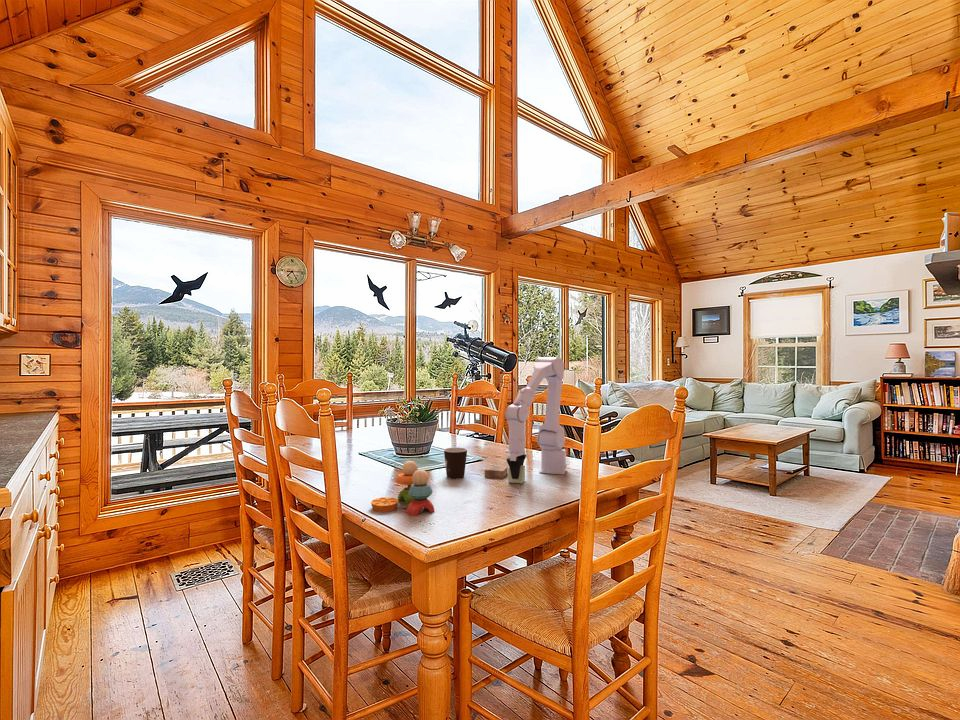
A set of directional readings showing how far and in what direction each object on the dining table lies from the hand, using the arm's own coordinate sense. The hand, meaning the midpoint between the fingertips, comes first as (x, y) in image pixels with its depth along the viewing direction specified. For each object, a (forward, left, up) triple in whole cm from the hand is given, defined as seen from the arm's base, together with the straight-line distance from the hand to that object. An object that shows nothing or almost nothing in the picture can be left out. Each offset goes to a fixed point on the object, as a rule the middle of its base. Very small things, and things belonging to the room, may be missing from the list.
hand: (516, 476), depth 172 cm
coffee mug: (+23, -2, -2) cm, 23 cm away
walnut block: (+9, -7, -2) cm, 12 cm away
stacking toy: (+26, +37, -2) cm, 46 cm away
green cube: (0, 0, -1) cm, 1 cm away
